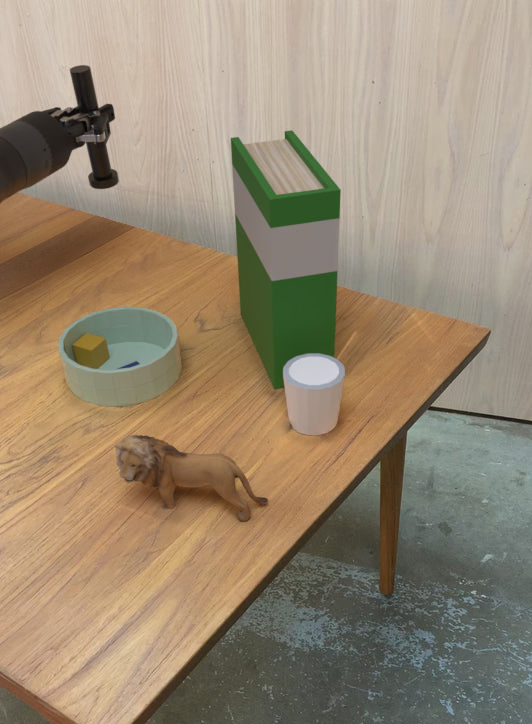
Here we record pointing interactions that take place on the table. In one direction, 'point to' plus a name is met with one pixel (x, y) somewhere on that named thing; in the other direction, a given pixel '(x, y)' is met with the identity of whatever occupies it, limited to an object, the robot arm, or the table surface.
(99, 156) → the black flashlight
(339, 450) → the table surface
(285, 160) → the hardback book
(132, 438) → the lion figurine
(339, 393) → the white cup
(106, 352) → the mustard block
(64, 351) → the bowl
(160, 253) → the table surface
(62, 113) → the robot arm
